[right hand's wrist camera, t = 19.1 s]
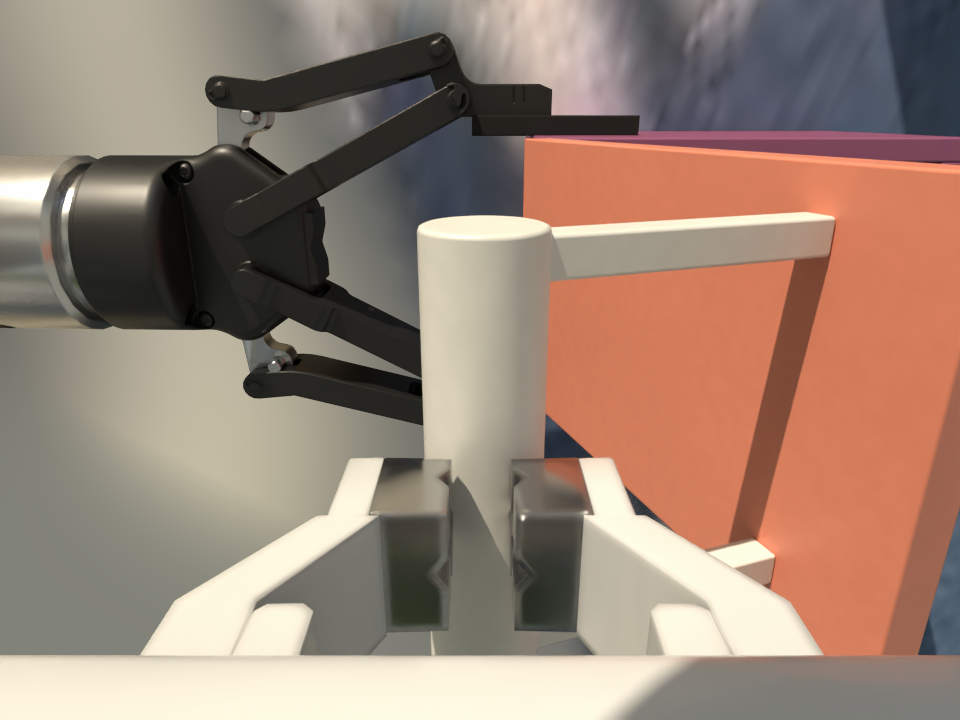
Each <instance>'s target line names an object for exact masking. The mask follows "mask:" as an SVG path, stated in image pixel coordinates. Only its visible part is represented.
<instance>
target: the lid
mask: <svg viewBox="0 0 960 720" xmlns="http://www.w3.org/2000/svg"><path fill="white" fill-rule="evenodd" d="M417 248H418V277H419V306H420V336H421V365H422V394H423V424H424V453H425V459H452V475H453V493H452V511H453V569H452V576H451V603H450V617H449V631H431V655H537V648H540V647H544V646H547V645H551V644H555V643H558V642H562V641H565V640H569V639H572V638H576V637H578V636H577V635H576V634H577V632H542V631H514V621H513V608H512V577H511V576H510V561H509V512H510V511H511V501H510V461H511V459H542V458H544V442H545V413H546V414H547V415H548V416H549V417H550V418H551V419H552V420H553V421H554V422H556V423H557V424H558V425H559V426H560V427H561V428H562V429H563V430H564V431H565V432H566V433H567V434H569V435H570V436H571V437H572V438H573V439H574V440H575V441H576V442H577V443H578V444H579V445H581V446H582V447H583V448H584V449H585V450H586V451H587V452H588V453H589V454H590V455H591V456H592V457H594V458H598V457H610V458H612V459H614V462H615V464H616V467H617V469H618V472H619V474H620V477H621V479H622V482H623V484H624V486H625V487H626V488H627V489H628V490H629V491H630V492H631V493H633V494H634V495H635V496H636V497H637V498H638V499H639V500H640V501H641V502H642V503H643V504H644V505H646V506H647V507H648V508H649V509H650V510H651V511H652V512H653V513H654V514H655V515H656V516H657V517H659V518H660V519H661V520H662V521H663V522H664V523H665V524H666V525H667V526H668V527H669V528H670V529H672V530H673V531H674V532H675V533H676V534H678V535H679V536H681V537H683V538H684V539H686V540H688V541H689V542H691V543H693V544H694V545H696V546H698V547H699V548H701V549H703V550H705V551H706V552H708V553H710V554H711V555H713V556H715V557H716V558H718V559H720V560H721V561H723V562H725V563H726V564H728V565H730V566H731V567H733V568H735V569H736V570H738V571H740V572H741V573H743V574H745V575H746V576H748V577H750V578H751V579H753V580H755V581H756V582H758V583H760V584H761V585H763V586H765V587H766V588H768V589H770V590H771V591H773V592H775V593H776V594H778V595H780V596H781V597H783V598H785V599H786V600H788V601H790V602H791V604H792V606H793V607H794V609H795V610H796V612H797V613H798V615H799V616H800V618H801V620H802V621H803V623H804V624H805V626H806V627H807V629H808V631H809V632H810V634H811V635H812V637H813V638H814V640H815V642H816V643H817V645H818V646H819V648H820V649H821V651H822V653H823V654H824V655H918V652H919V649H920V645H921V642H922V638H923V635H924V631H925V628H926V624H927V621H928V617H929V614H930V610H931V607H932V603H933V600H934V596H935V593H936V589H937V586H938V582H939V579H940V575H941V572H942V568H943V565H944V561H945V558H946V554H947V551H948V547H949V544H950V540H951V537H952V533H953V530H954V526H955V523H956V519H957V516H958V512H959V509H960V165H949V164H934V163H919V162H904V161H888V160H873V159H858V158H843V157H828V156H812V155H797V154H782V153H767V152H752V151H737V150H721V149H706V148H691V147H676V146H661V145H645V144H630V143H615V142H600V141H585V140H570V139H554V138H529V139H525V156H524V205H523V218H522V217H511V216H459V217H448V218H440V219H435V220H431V221H427V222H425V223H423V224H421V225H419V227H418V230H417Z"/></svg>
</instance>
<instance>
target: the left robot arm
mask: <svg viewBox="0 0 960 720" xmlns="http://www.w3.org/2000/svg"><path fill="white" fill-rule="evenodd" d="M428 75H431V78H432V81H433V83H434V86H435V89H436V92H435V93H433V94H432V95H430V96H428V97H426V98H425V99H423V100H421V101H419V102H418V103H416V104H414V105H412V106H411V107H409V108H407V109H405V110H404V111H402V112H400V113H398V114H397V115H395V116H393V117H391V118H390V119H388V120H386V121H384V122H383V123H381V124H379V125H377V126H376V127H374V128H372V129H370V130H369V131H367V132H365V133H363V134H362V135H360V136H358V137H356V138H355V139H353V140H351V141H349V142H348V143H346V144H344V145H342V146H341V147H339V148H337V149H335V150H334V151H332V152H330V153H328V154H327V155H325V156H323V157H321V158H320V159H318V160H316V161H314V162H312V163H310V164H308V165H306V166H304V167H302V168H300V169H298V170H297V171H295V172H293V173H291V174H290V175H288V174H287V173H286V172H284V171H283V170H281V169H280V168H279V167H277V166H276V165H274V164H273V163H272V162H270V161H269V160H267V159H266V158H264V157H263V156H262V155H260V154H259V153H257V152H256V151H255V150H253V149H252V148H250V147H249V143H250V139H251V137H252V136H253V135H254V134H255V133H257V132H261V131H266V130H268V129H270V128H271V127H272V125H273V123H274V112H292V111H297V110H302V109H306V108H309V107H313V106H317V105H320V104H324V103H328V102H331V101H335V100H339V99H343V98H346V97H350V96H354V95H357V94H361V93H365V92H368V91H372V90H376V89H379V88H383V87H387V86H391V85H394V84H398V83H402V82H405V81H409V80H413V79H416V78H420V77H424V76H428ZM205 92H206V96H207V98H208V99H209V101H210V102H211V103H212V104H213V105H214V106H217V129H218V145H217V146H214V147H212V148H211V149H209V150H208V151H206V152H205V153H202V154H200V155H194V156H139V155H137V156H135V155H129V156H128V155H124V156H123V155H110V156H105V157H102V158H100V159H95V158H93V157H91V156H86V155H85V156H84V155H0V328H58V329H106V328H109V327H112V326H115V327H117V328H121V329H159V330H206V329H213V330H219V331H223V332H225V333H228V334H230V335H232V336H234V337H236V338H238V339H241V340H243V344H244V349H245V353H246V357H247V361H248V366H249V370H250V374H249V375H248V376H247V377H246V378H245V380H244V382H243V388H244V390H245V392H246V393H247V394H248V395H249V396H251V397H253V398H270V397H282V396H293V395H295V396H300V397H304V398H308V399H313V400H317V401H321V402H325V403H330V404H334V405H338V406H342V407H347V408H351V409H355V410H359V411H364V412H368V413H372V414H376V415H381V416H385V417H389V418H393V419H398V420H402V421H406V422H411V423H415V424H419V425H423V426H424V424H423V394H422V380H420V379H416V378H412V377H408V376H403V375H399V374H395V373H391V372H387V371H382V370H378V369H374V368H370V367H366V366H362V365H357V364H353V363H349V362H345V361H340V360H336V359H332V358H328V357H324V356H319V355H313V354H297V352H296V350H295V349H294V347H293V346H291V345H288V344H283V343H279V342H277V341H275V340H274V339H273V338H272V336H271V334H270V331H271V330H273V329H274V328H275V327H277V326H278V325H279V324H281V323H282V322H283V321H285V320H286V319H287V318H290V319H293V320H295V321H297V322H299V323H301V324H303V325H305V326H307V327H309V328H311V329H313V330H316V331H320V332H329V333H331V334H333V335H335V336H337V337H339V338H341V339H343V340H345V341H347V342H349V343H351V344H353V345H356V346H357V347H360V348H362V349H364V350H366V351H368V352H370V353H372V354H374V355H376V356H378V357H380V358H382V359H384V360H386V361H388V362H390V363H392V364H394V365H396V366H398V367H400V368H402V369H404V370H406V371H409V372H411V373H413V374H415V375H417V376H419V377H421V378H422V365H421V336H420V330H419V329H417V328H415V327H413V326H411V325H409V324H407V323H405V322H403V321H401V320H399V319H397V318H395V317H393V316H391V315H389V314H387V313H385V312H383V311H381V310H379V309H377V308H375V307H373V306H371V305H369V304H367V303H365V302H363V301H361V300H359V299H357V298H355V297H353V296H352V295H350V294H349V293H348V292H347V290H345V289H344V288H342V287H341V286H339V285H337V284H335V283H333V282H331V281H329V280H327V279H326V278H327V277H328V276H329V263H328V257H327V254H326V251H325V248H324V245H323V242H322V239H323V234H324V229H325V212H324V207H320V204H319V202H318V200H317V198H318V197H319V196H321V195H323V194H325V193H327V192H328V191H330V190H332V189H334V188H336V187H337V186H339V185H341V184H342V183H344V182H346V181H348V180H349V179H351V178H353V177H355V176H357V175H358V174H360V173H362V172H364V171H365V170H367V169H369V168H371V167H373V166H374V165H376V164H378V163H380V162H382V161H383V160H385V159H387V158H389V157H391V156H392V155H394V154H396V153H398V152H399V151H401V150H403V149H405V148H407V147H408V146H410V145H412V144H414V143H416V142H417V141H419V140H421V139H423V138H425V137H426V136H428V135H430V134H432V133H433V132H435V131H437V130H439V129H441V128H442V127H444V126H446V125H448V124H450V123H451V122H453V121H455V120H457V119H459V118H460V117H472V136H535V135H638V130H639V117H640V116H587V115H551V105H552V89H549V88H547V87H545V86H543V85H540V84H476V83H473V82H471V81H469V80H468V79H467V78H466V77H465V75H464V73H463V71H462V68H461V65H460V62H459V59H458V56H457V53H456V50H455V48H454V46H453V44H452V42H451V41H450V39H449V38H448V37H447V36H446V35H445V34H442V33H439V32H438V33H431V34H427V35H423V36H420V37H416V38H412V39H409V40H405V41H402V42H398V43H394V44H391V45H387V46H384V47H380V48H376V49H373V50H369V51H366V52H362V53H358V54H355V55H351V56H348V57H344V58H340V59H337V60H333V61H330V62H326V63H322V64H319V65H315V66H311V67H308V68H304V69H301V70H297V71H293V72H290V73H286V74H283V75H279V76H275V77H272V78H268V79H265V80H259V79H251V78H242V77H233V76H225V75H214V76H213V77H211V78H210V79H209V80H208V81H207V83H206V88H205Z"/></svg>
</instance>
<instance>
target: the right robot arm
mask: <svg viewBox="0 0 960 720" xmlns="http://www.w3.org/2000/svg"><path fill="white" fill-rule="evenodd" d="M452 493H453V475H452V459H418V458H386V459H385V458H384V457H369V458H351V459H349V461H348V462H347V465H346V468H345V470H344V473H343V475H342V478H341V480H340V483H339V486H338V488H337V491H336V493H335V496H334V498H333V501H332V504H331V506H330V509H329V511H328V514H327V515H317V516H315V517H314V518H312V519H310V520H309V521H307V522H305V523H304V524H302V525H300V526H299V527H297V528H295V529H294V530H292V531H290V532H289V533H287V534H285V535H284V536H282V537H280V538H279V539H277V540H275V541H274V542H272V543H270V544H269V545H267V546H265V547H264V548H262V549H260V550H259V551H257V552H255V553H254V554H252V555H250V556H249V557H247V558H245V559H244V560H242V561H240V562H238V563H237V564H235V565H234V566H232V567H230V568H228V569H227V570H225V571H223V572H222V573H220V574H218V575H217V576H215V577H213V578H212V579H210V580H209V581H207V582H205V583H203V584H202V585H200V586H198V587H197V588H195V589H193V590H192V591H190V592H188V593H187V594H185V595H183V596H182V597H180V598H178V599H177V600H175V601H174V603H173V604H172V606H171V607H170V609H169V611H168V612H167V614H166V615H165V617H164V618H163V620H162V621H161V623H160V625H159V626H158V628H157V629H156V631H155V632H154V634H153V636H152V637H151V639H150V640H149V642H148V644H147V645H146V647H145V648H144V650H143V651H142V653H141V654H140V655H0V720H960V655H824V654H823V653H822V651H821V649H820V648H819V646H818V645H817V643H816V642H815V640H814V638H813V637H812V635H811V634H810V632H809V631H808V629H807V627H806V626H805V624H804V623H803V621H802V620H801V618H800V616H799V615H798V613H797V612H796V610H795V609H794V607H793V606H792V604H791V602H790V601H788V600H786V599H785V598H783V597H781V596H780V595H778V594H776V593H775V592H773V591H771V590H770V589H768V588H766V587H765V586H763V585H761V584H760V583H758V582H756V581H755V580H753V579H751V578H750V577H748V576H746V575H745V574H743V573H741V572H740V571H738V570H736V569H735V568H733V567H731V566H730V565H728V564H726V563H725V562H723V561H721V560H720V559H718V558H716V557H715V556H713V555H711V554H710V553H708V552H706V551H705V550H703V549H701V548H699V547H698V546H696V545H694V544H693V543H691V542H689V541H688V540H686V539H684V538H683V537H681V536H679V535H678V534H676V533H674V532H673V531H671V530H669V529H668V528H666V527H664V526H663V525H661V524H659V523H658V522H656V521H654V520H653V519H651V518H649V517H648V516H646V515H636V514H635V512H634V509H633V507H632V504H631V502H630V499H629V497H628V494H627V492H626V489H625V487H624V484H623V482H622V479H621V477H620V474H619V472H618V469H617V467H616V464H615V462H614V459H612V458H610V457H598V458H542V459H511V461H510V501H511V511H510V512H509V561H510V576H511V577H512V608H513V621H514V631H542V632H577V634H576V635H577V636H578V638H579V639H580V640H581V641H582V642H583V643H584V644H585V645H586V647H587V648H588V649H589V650H590V651H591V652H592V653H593V654H594V655H370V654H371V653H372V651H373V650H374V649H375V648H376V647H377V646H378V645H379V643H380V642H381V641H382V640H383V639H384V638H385V637H386V632H419V631H449V617H450V603H451V576H452V569H453V511H452Z"/></svg>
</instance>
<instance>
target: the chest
mask: <svg viewBox="0 0 960 720" xmlns="http://www.w3.org/2000/svg"><path fill="white" fill-rule="evenodd" d="M529 138H554V139H570V140H585V141H600V142H615V143H630V144H645V145H661V146H676V147H691V148H706V149H721V150H737V151H752V152H767V153H782V154H797V155H812V156H828V157H843V158H858V159H873V160H888V161H904V162H919V163H934V164H949V165H960V137H949V136H927V135H905V134H883V133H860V132H838V131H638V135H535V136H526V139H529Z"/></svg>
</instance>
